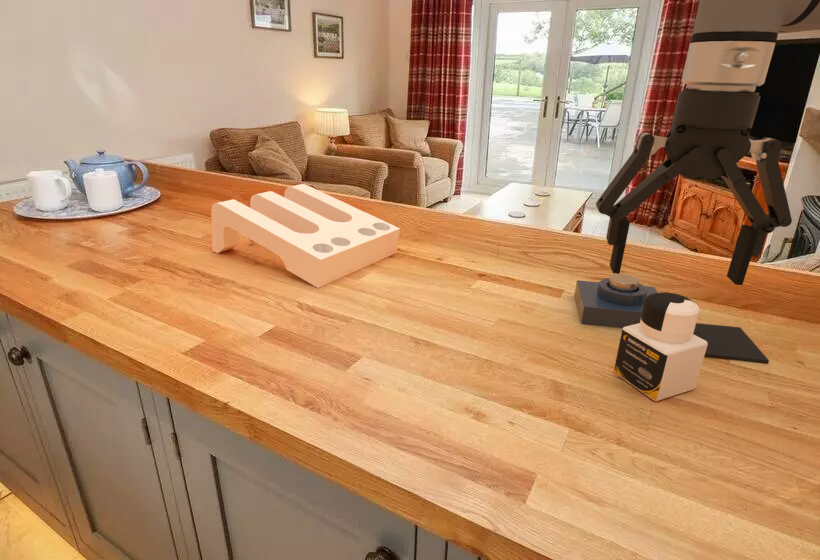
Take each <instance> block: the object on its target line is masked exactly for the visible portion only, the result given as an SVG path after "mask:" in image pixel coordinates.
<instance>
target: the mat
mask: <svg viewBox="0 0 820 560" xmlns="http://www.w3.org/2000/svg"><path fill="white" fill-rule="evenodd" d="M693 334H694V335H696V336H698V337H699V338H701V339H703V340H705V341H707V343H708V345H707V349H706V352H705V356H704V358H710V359H720V360H727V361H728V360H729V361H737V362H739V361H740V362H747V363H755V364H756V363H758V364H764V365H766V364H767V365H768V364H769V362H770V360H769V359H768V357H767V356H766V355H765V354H764V353H763V352H762V351H761V349H760V348H759V347H758V345H756V344H755V342H754V341H753V340H752V338H750V337H749V336H748V335H747V333H746V332H745V331H744V330H743V329H742V327H740V326H730V325H721V324H712V323H711V324H710V323H702V322H701V323H700V322H696V325H695V329H694V333H693Z"/></svg>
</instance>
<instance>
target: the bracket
mask: <svg viewBox="0 0 820 560" xmlns="http://www.w3.org/2000/svg"><path fill="white" fill-rule="evenodd" d="M249 204H250V205H249V206H247V205H246V204H244V203H242V202H240V201H238V200H237V199H229V200H223V201H219V202H215V203H213V204H212V206H211V210H210V215H211V217H210V218H211V251H213V252H214V253H216V254H220V253H223V252H226V251H229V250H233V249H235V248H236V247H237V246H238V245H239V244H240V235H242V236H243V237H246V238H247V239H249V240H250V241H253V242H254V243H256V244H257V245H259V246H261V247H263V248H264V249H266V250H268V251H270V252H272V253H273V254H275V255H277V256H278V257H279V258H280V259H281V261H282V262H283V264H284V266H285V269H286V270H287V271H288V272H289V273H292V274H293V275H295V276H297V277H298V278H300V279H302V281H305V282H307V283H308V284H310V285H312V286H313V287H315V288H317V289H319V288H322V287H324V286H327V285H328V284H330V283H333V282H335V281H338V280H339V279H342V278H344V277H347V276H348V275H351V274H353V273H355V272H357V271H359V270H361V269H364V268H366V267H369V266H370V265H373V264H375V263H377V262H379V261H381V260H383V259H384V260H385V259H386V258H388V257H390V256H393V255H395V254H396V253H397V250H398V244H399V238H400V232H401V228H400V227H398V226H396V225H394V224H391V223H389V222H387V221H385V220H383V219H380V218H378V217H377V216H374V215H372V214H371V213H368V212H366V211H363V210H361V209H359V208H357V207H355V206H352V205H351V204H349V203H347V202H344V201H342V200H340V199H338V198H336V197H333V196H331V195H329V194H327V193H325V192H323V191H320V190H318V189H316V188H314V187H311V186H310V185H307V184H306V183H301V184H296V185H291V186H288V187H286V188H285V190H284V196H282V195H281V194H278V193H276V192H274V191H272V190H269V191H265V192H259V193H255V194H253V195H252V196H251V197H250V202H249Z"/></svg>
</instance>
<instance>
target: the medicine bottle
mask: <svg viewBox="0 0 820 560" xmlns="http://www.w3.org/2000/svg"><path fill="white" fill-rule="evenodd" d="M699 314H700V307H699V306H698V304H697V303H696V302H695V301H693V300H692V299H691V298H688V297H686V296H684V295H681V294H678V293H674V292H658V293H654V294H650V295H649V296H647V297H646V298H645V302H644V306H643V311H642V315H641V320H640V323H638V324H634V325H630V326H626V327H623V328H621V333H620V338H619V343H618V348H617V353H616V358H615V363H614V368H613V373H614V374H615V375H616V376H618V377H619V378H621V379H622V380H623V381H625V382H626V383H628V384H629V385H631V386H632V387H634V388H635V389H636V390H638V391H639V392H640V393H642V394H643V395H645V396H646V397H648V398H649V399H650V400H652V401H653V402H658V401H662V400H665V399H668V398H671V397H674V396H677V395H680V394H683V393H686V392H689V391H693V390H695V389H696V386H697V384H698V380H699V375H700V373H701V369H702V366H703V362H704V359H705V357H704V356H705V352H706V349H707V345H708V343H707V341H705V340H703V339H701V338H699V337H698V336H696V335H694V334H693V333H694V329H695V325H696V323H698V317H699Z"/></svg>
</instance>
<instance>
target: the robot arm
mask: <svg viewBox="0 0 820 560" xmlns="http://www.w3.org/2000/svg"><path fill="white" fill-rule="evenodd" d="M818 30H820V0H699V2H698V7H697V11H696V17H695V20H694V26H693V30H692V34H691V38H690V43H689V47H688V50H687V55H686V58H685V59H686V60H685V64H684V68H683V72H682V76H681V80H680V82H681V83H682V84H683V85H686V86H685V89H682V90H681V91H680V92H678V95H677V99H676V104H675V109H674V113H673V117H672V122H671V127H670V129H669V132H668V133H667V135H666V136H659V135H654V134H651V133H649V132H646V131H643V132H640V133H639V135H638V137H637V139H636V143H635V146H634V149H633V152H632V153H630V156H629V157H628V158H627V160H626V162H624V164H623V165H622V166H621V168H620V169H619V171H618V172H617V174H616V175H615V176H614V177H613V179H612V181H611V182H610V183H609V185H608V186H606V189H605V190H604V191H603V193H602V194H601V195H600V196H599V198H598V199H597V201H596V203H595V207H596V209H597V211H598V212H599V214H601V215H605V216H608V217H609V221H608V226H607V232H606V235H605V237H606V242H607V244H608V245H609V246H612V251H611V256H610V261H609V267H610V270H611V272H612V274H621V270H622V269H621V268H622V264H623V258H624V255H625V249H626V244H627V240H628V234H629V231H630V226H631V225H630V224H631V221H630V220H629V219H628V217H627V216H628V215H630V214H631V213H632V212H633V211H634V210H636V209H637V208H639V206H641V204H642V203H644V202H646V200H648V199H649V198H650V197H651V196H653V195H654V194H655V193H656V192H657V191H659V189H660V188H662V187H663V186H664V185H666V184H667V183H668V182H671V181H673V180H674V179H675V178H676V177H678V176H679V175H680V176H681V177H683V178H685V179H696V178H703V179H706V180H717V179H718V178H721V179H722V180H723V181H724V182H725V184H726V185H727V187H728V188H729V190H730V192H731V193H732V195H733V197H734V199H735V200H736V201H737V203H738V205H739V206H740V208H741V209H742V211H743V213H744V214H745V217H746V218H747V219H748V221H749V222H750V225H749V224H741V226H740V229H739V233H738V236H737V239H736V243H735V247H734V250H733V253H732V257H731V260H730V264H729V267H728V270H727V274H726V277H727V278H728V279H729V280H730V281H731V282H732V283H733V285H736V286H743V284H744V281H745V278H746V275H747V272H748V268H749V265H750V263H751V259H752V257H753V258H758V257H759V256H760V254H761V253H762V250H763V247H764V245H765V242H766V238H767V235H768V234H771V233H773V232H774V231H775V229H776V228H780V227H781V228H787V227H788V226H790V225H791V224H792V222H793V219H792V215H791V209H790V205H789V202H788V201H789V200H788V197H787V193H786V189H785V184H784V180H783V176H782V171H781V168H780V163H779V160H780V155H781V149H782V142H781V140H778V139H776V138H773V137H772V138H771V137H767V136H765V137H762V138H761V139H755V140H753V139H752V140H751V139H750V133H751V130H752V129H753V125H754V122H755V118H756V115H757V111H758V107H759V103H760V100H761V95H760V92H755V91H756V89H757V87H761V86H762V85H764V84H765V82H766V78H767V75H768V71H769V69H770V68H769V67H770V63H771V61H772V57H773V53H774V50H775V47H776V42H777V40H778V36H779V34H789V33H791V34H792V33H801V32H810V31H818ZM662 148H663V151H664V153H665V155H666V156H667V158H666V159H665V160H664V161H662V162H661V163H660V164H659V165H658V166H657V167H656V168H655V170H654V171H653V172H652V173H650V174H649V175H648V176H647V177H646V178H644V179H643V180H642V181H640V183H638V184H637V185H636V186H634V188H632V190H630V191H629V192H628V193H627V194H626V195H625V196H623V197H622V198H621V199H620V200H619V198H620V197H621V196H622V195H623V193H624V192H625V191H626V189H627V188H628V186H629V185H630V184H631V183H632V181H633V180H634V178H635V177H636V176H637V174H638V173H639V172H640V171H641V169H642V168H643V166H644V165H645V164H646V162H647V161H648V159H649V157H650V156H654V155H655V154H657V152H658V150H659V149H662ZM749 152H750V154H751V158H752V159H754V160H755V163H756V168H757V169H756V170H757V172H758V177H759V181H760V185H761V190H762V193H763V197H764V201H765V205H766V210H767V214H766V212H765V210H764V209H763V207H762V206H761V204H760V202H759V200H758V198H757V197H756V196H755V193H754V192H753V191H752V189H751V187H750V186H749V184H748V183H747V181H746V178H745V175H744V173H743V172H742V170H741V169H740V167H739V166H738V163H739V162H740V161H741V160H742V159H743V158H744V157H746V156H747V154H749Z"/></svg>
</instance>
